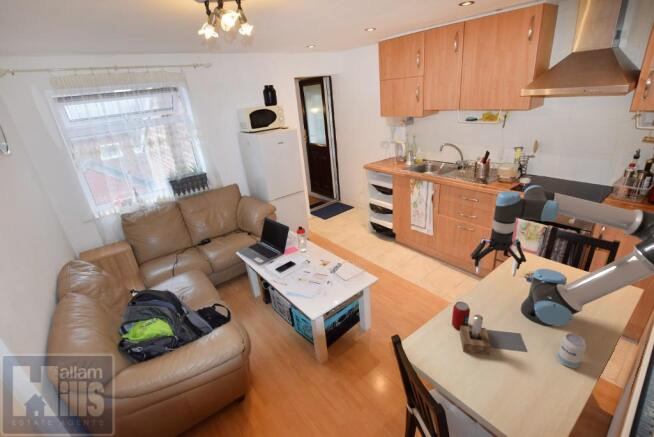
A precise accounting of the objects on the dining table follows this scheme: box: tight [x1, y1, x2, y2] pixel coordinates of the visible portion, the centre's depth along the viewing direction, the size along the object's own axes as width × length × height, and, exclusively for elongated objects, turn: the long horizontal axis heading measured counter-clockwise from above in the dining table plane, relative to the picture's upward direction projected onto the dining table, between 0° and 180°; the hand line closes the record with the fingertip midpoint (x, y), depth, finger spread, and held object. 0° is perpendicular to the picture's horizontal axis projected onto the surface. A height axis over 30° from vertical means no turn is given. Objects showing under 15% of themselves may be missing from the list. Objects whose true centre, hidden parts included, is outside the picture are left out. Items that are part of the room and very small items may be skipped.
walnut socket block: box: [459, 325, 492, 356], centre depth 126 cm, size 10×10×5 cm
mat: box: [486, 329, 529, 353], centre depth 127 cm, size 14×10×1 cm
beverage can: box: [451, 301, 471, 331], centre depth 134 cm, size 7×7×12 cm
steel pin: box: [471, 314, 484, 340], centre depth 124 cm, size 3×3×15 cm
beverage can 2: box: [556, 333, 587, 369], centre depth 113 cm, size 7×7×12 cm
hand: (495, 273), depth 127 cm, fingers open, 13 cm apart
